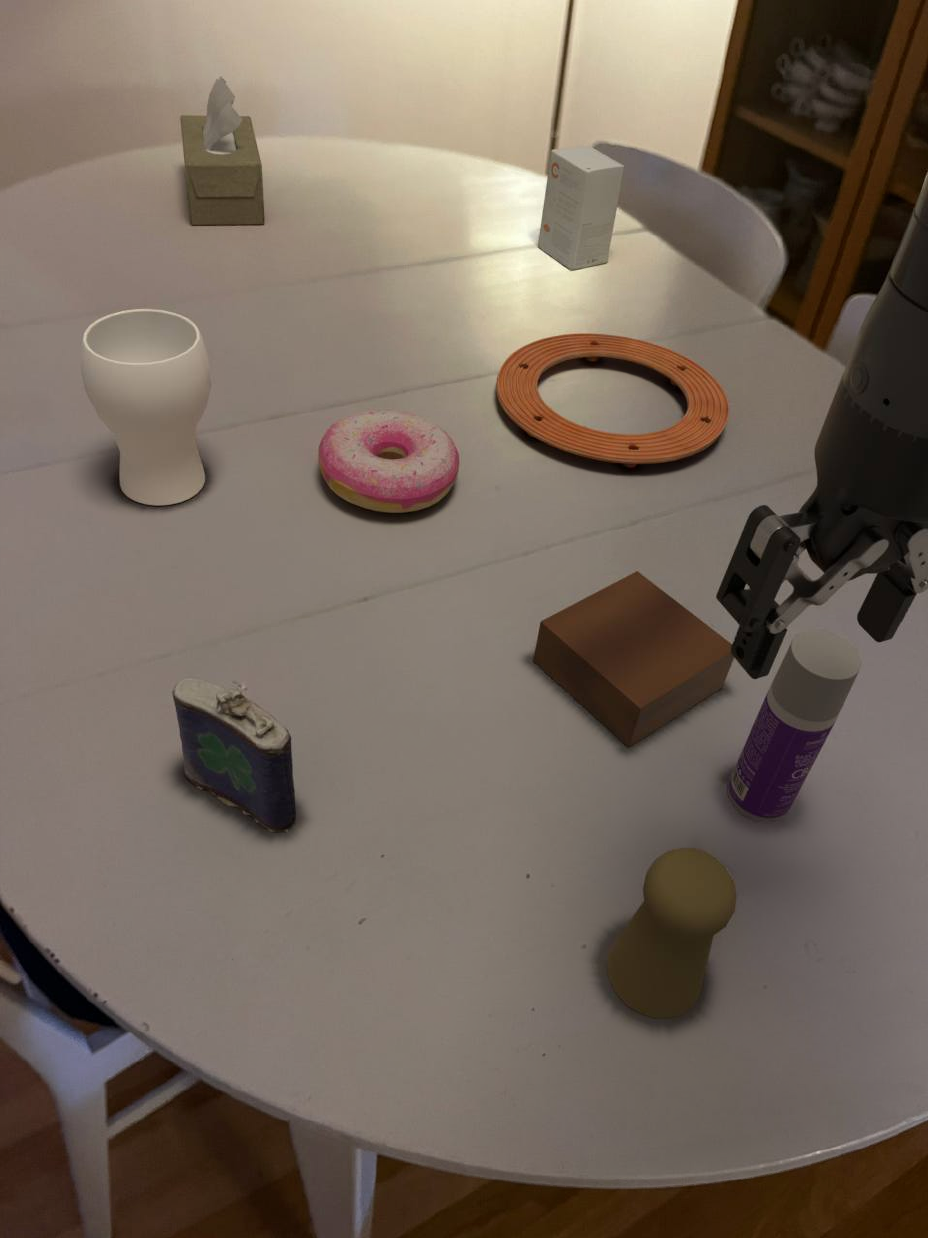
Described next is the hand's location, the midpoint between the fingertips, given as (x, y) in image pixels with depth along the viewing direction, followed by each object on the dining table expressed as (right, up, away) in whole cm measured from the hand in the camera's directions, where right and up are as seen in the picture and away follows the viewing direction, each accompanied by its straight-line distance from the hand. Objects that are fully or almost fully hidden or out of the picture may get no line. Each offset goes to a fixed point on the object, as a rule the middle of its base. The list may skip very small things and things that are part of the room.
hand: (812, 648), depth 56 cm
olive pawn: (-7, -21, +8) cm, 23 cm away
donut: (-26, +15, +43) cm, 53 cm away
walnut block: (-6, -3, +27) cm, 28 cm away
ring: (-3, +25, +56) cm, 61 cm away
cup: (-47, +14, +40) cm, 64 cm away
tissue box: (-53, +61, +88) cm, 119 cm away
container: (+3, -12, +19) cm, 23 cm away
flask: (-35, -11, +15) cm, 39 cm away
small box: (-4, +51, +84) cm, 99 cm away
